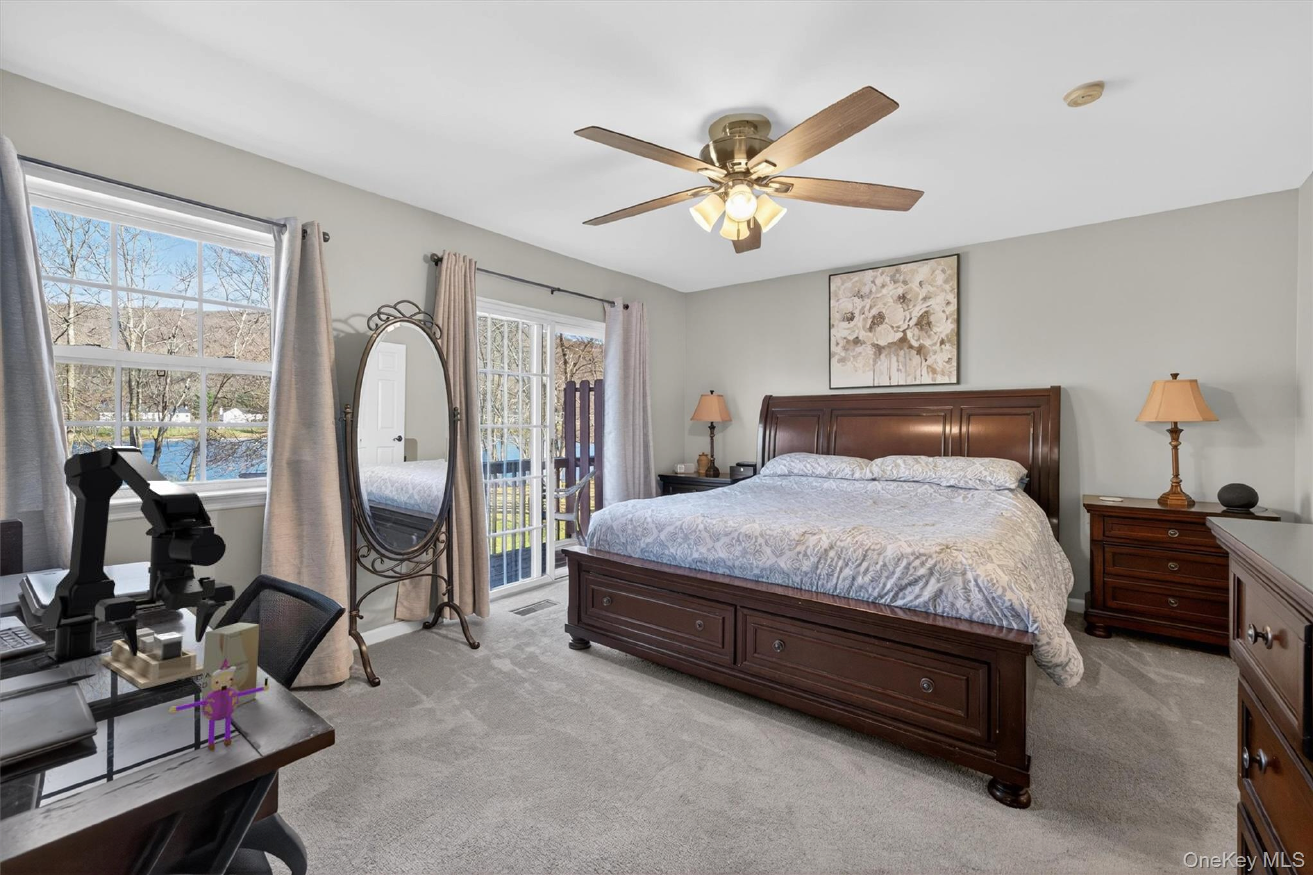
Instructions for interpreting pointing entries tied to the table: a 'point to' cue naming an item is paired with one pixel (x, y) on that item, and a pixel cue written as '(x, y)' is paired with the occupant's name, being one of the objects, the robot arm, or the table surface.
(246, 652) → the skincare box
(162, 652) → the grey rounded square block
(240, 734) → the table surface
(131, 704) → the table surface
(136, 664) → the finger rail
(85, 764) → the table surface
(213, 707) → the wizard figurine
